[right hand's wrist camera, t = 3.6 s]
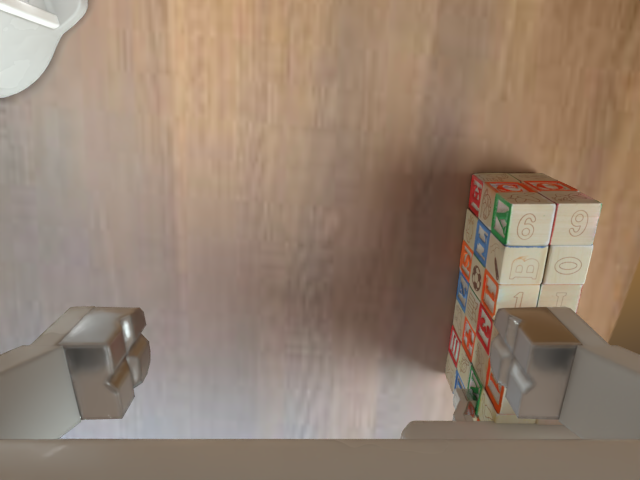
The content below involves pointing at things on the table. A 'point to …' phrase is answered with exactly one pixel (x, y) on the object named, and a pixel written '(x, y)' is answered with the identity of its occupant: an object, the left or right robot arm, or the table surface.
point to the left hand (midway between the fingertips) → (506, 394)
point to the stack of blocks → (514, 271)
